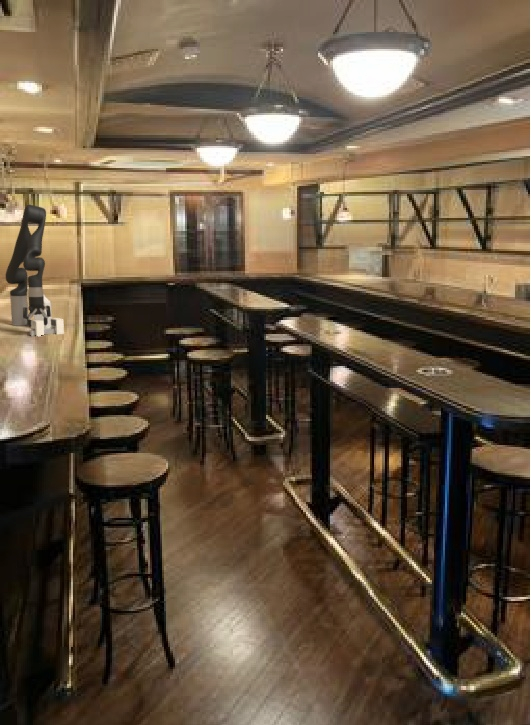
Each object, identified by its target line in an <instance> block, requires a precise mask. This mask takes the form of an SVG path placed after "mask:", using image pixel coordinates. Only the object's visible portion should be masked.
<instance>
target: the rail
mask: <svg viewBox="0 0 531 725" xmlns="http://www.w3.org/2000/svg"><path fill="white" fill-rule="evenodd" d="M51 333H56V331H55V328H47V329H44V334H50V335H52V334H51ZM30 335H31V336H30ZM29 336H30V337H36V336H35V330H31V329H30V330H29Z"/></svg>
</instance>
